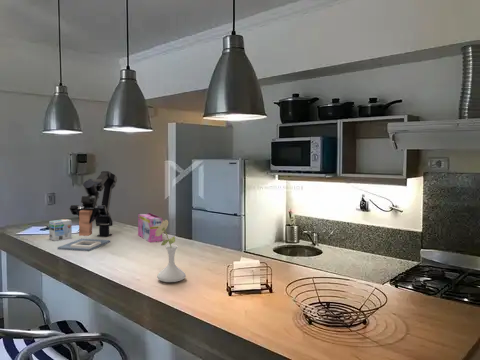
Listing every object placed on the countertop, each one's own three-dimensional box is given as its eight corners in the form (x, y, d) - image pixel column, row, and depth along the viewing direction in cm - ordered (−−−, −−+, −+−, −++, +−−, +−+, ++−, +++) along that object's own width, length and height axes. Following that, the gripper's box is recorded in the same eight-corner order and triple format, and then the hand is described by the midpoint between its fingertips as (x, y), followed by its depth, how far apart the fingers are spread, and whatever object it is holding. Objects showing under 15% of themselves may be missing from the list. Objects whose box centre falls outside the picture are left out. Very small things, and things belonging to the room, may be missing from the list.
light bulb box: (54, 241, 228) (54, 222, 227) (48, 239, 232) (48, 221, 231) (72, 238, 236) (72, 220, 236) (66, 236, 240) (66, 218, 240)
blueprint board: (81, 240, 231) (81, 236, 231) (110, 241, 227) (110, 238, 227) (57, 249, 209) (57, 245, 209) (89, 251, 206) (89, 246, 206)
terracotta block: (82, 233, 216) (83, 209, 215) (92, 233, 216) (92, 210, 215) (79, 235, 211) (79, 211, 210) (88, 235, 211) (88, 211, 210)
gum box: (136, 234, 248) (136, 213, 247) (149, 233, 252) (149, 212, 251) (149, 242, 228) (149, 218, 227) (162, 241, 232) (162, 217, 231)
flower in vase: (172, 274, 169) (172, 215, 167) (191, 279, 162) (191, 218, 160) (147, 281, 159) (147, 219, 157) (166, 288, 152) (166, 222, 150)
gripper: (70, 190, 216) (62, 213, 205) (105, 190, 216) (98, 214, 206) (76, 202, 224) (68, 225, 214) (110, 203, 224) (103, 226, 214)
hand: (84, 222), depth 212 cm, fingers closed on terracotta block, 5 cm apart
